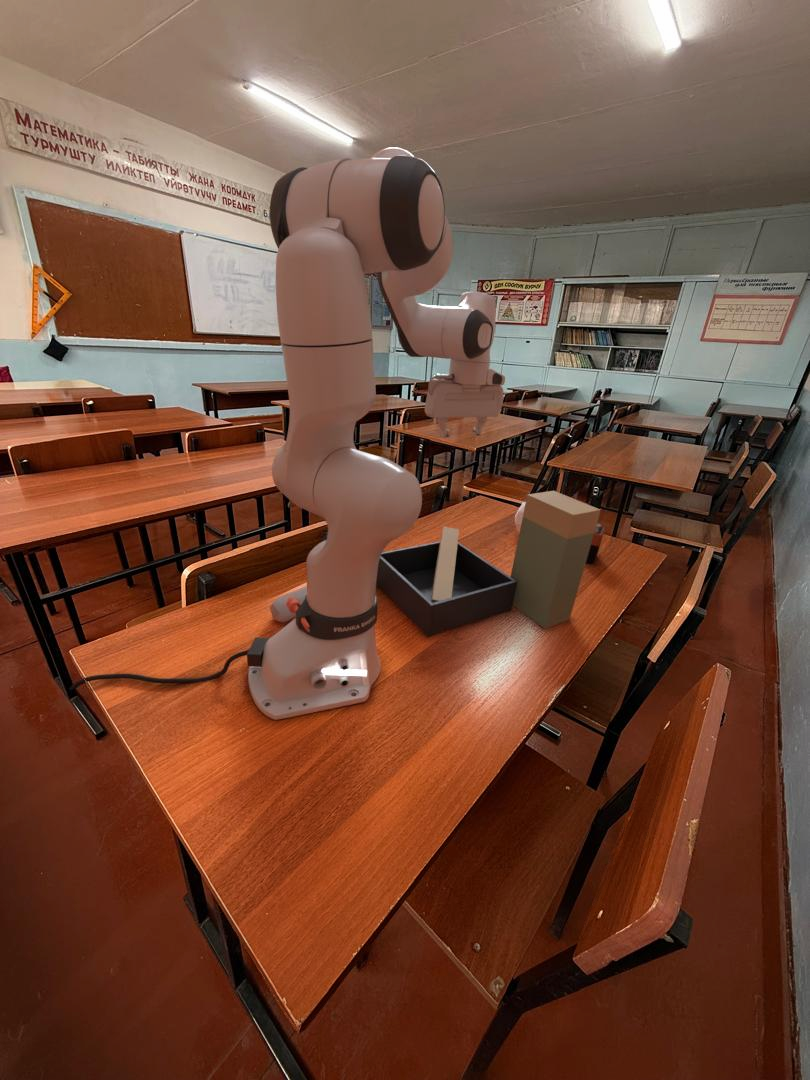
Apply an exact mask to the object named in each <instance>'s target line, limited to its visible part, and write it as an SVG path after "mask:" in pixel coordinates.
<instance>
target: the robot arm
mask: <svg viewBox="0 0 810 1080" xmlns="http://www.w3.org/2000/svg"><path fill="white" fill-rule="evenodd" d="M268 210H269V213H268V215H269V225H270V229H271V233H272V237H273V240H274V243H275V245H276V247H277V251H276V257H275V299H276V300H275V301H276V313H277V325H278V332H279V339H280V345H281V352H282V359H283V365H284V371H285V372H284V373H285V378H286V386H287V393H288V401H289V420H288V421H289V422H288V430H287V435H286V439H285V441H284V442H285V443H283V445H282V446H281V447H280V448H279V449H278V450H277V452H276V454H275V456H274V457H273V458H274V459H273V462H272V467H271V475H272V481H273V483H274V485H275V487H276V488H277V490H278V491H279V492H280V493H281V494H283V495H284V497H286V498H287V499H288V500H289V501H291V502H292V503H293V504H294V505H296V506H297V507H298V508H301V509H303V510H305V511H308V512H310V513H311V514H313V515H317V516H318V517H320V518H323V519H324V520H325V523H326V524H327V535H326V539H325V540H323V541H321V542H319V543H318V544H317V545H315V546H313V548H312V549H311V550H310V551H309V553H308V555H307V557H306V562H305V568H306V573H305V575H306V587H307V595H306V597H305V599H304V601H303V603H302V604H300V603H299V602H298V600H297V599H296V598H295V597H291V598H289V599H288V601H286V606H287V607H288V608H289V611H290V612H292V613H296V618H294V619H292V620H290V621H289V622H288V623H286V625H285V626H284V627H282V628H281V629H280V630H279V631H277V632H276V633H275V634H273V635H272V636H270V637H269V638H268V637H258V636H257V637H254V639H253V641H252V643H251V645H250V647H249V649H246V650H242V651H240V652H237V653H234V654H232V655H231V656H230V657H228V659H227V660H226V661H225V663H224V666H223V668H222V669H221V670H220V671H218V672H216V673H213V674H211V675H208V676H203V677H193V678H192V677H190V678H186V677H185V678H179V677H178V678H177V677H176V678H175V677H174V678H171V677H170V678H160V677H151V676H146V675H141V674H135V673H107V674H106V673H104V674H95V675H90V676H86V677H83V678H81V679H79V680H77V681H76V682H74V683H73V684H72V685H71V686H70V687H69V689H68V690H69V691H74V690H76V689H77V688H78V687H80V686H81V685H83V684H86V683H89V682H92V681H93V682H94V681H102V680H116V679H118V680H119V679H129V680H130V679H131V680H137V681H143V682H147V683H153V684H195V683H200V682H205V681H210V680H215V679H218V678H219V677H222V676H224V675H225V674H226V673H227V672H228V670H229V667H230V665H231V663H232V662H233V661H235V660H237V659H239V658H242V657H244V656H246V660H247V667H249V669H248V674H247V684H248V689H249V692H250V695H251V698H252V700H253V702H254V704H255V705H256V707H257V709H258V710H259V711H260V712H261V713H262V714H264V715H265V716H266V717H268V718H269V719H272V720H274V721H278V720H283V719H288V718H293V717H298V716H303V715H308V714H312V713H317V712H323V711H327V710H332V709H336V708H341V707H342V708H343V707H347V706H351V705H356V704H360V703H361V704H362V703H365V702H366V701H367V700H368V699H369V697H370V694H371V688H372V685H373V684H374V683H375V682H376V680H377V679H378V677H379V676H380V673H381V669H382V662H381V658H380V656H379V653H378V647H377V641H376V640H377V639H376V624H377V620H378V596H377V593H376V591H377V584H376V581H377V571H378V564H379V559H380V557H381V554H382V552H384V550H385V548H386V547H387V546H388V545H389V544H390V543H391V542H393V541H395V540H397V539H399V538H401V537H403V536H404V535H405V534H406V533H408V532H409V531H410V530H411V529H412V528H413V526H414V525H415V523H416V522H417V520H418V519H419V516H420V514H421V510H422V507H423V506H422V505H423V504H422V503H423V492H422V487H421V483H420V482H419V479H418V478H417V477H416V475H414V474H413V473H412V472H410V471H409V470H407V469H406V468H404V467H402V466H401V465H399V464H398V463H395V461H393V460H391V459H389V458H385V457H383V456H379V455H376V454H372V453H369V452H366V451H363V450H359V449H357V447H356V445H355V442H354V434H355V428H356V424H357V422H358V421H360V420H361V419H362V418H363V417H365V416H367V414H368V413H369V412H370V411H371V410H372V409H373V407H374V405H375V402H376V398H377V390H376V388H377V387H376V375H375V373H376V371H375V359H374V358H375V357H374V356H375V355H374V340H373V327H372V317H371V316H372V315H371V309H370V302H369V295H368V289H367V285H366V280H365V274H374V273H375V274H377V282H378V287H379V290H380V293H381V295H382V298H383V300H384V303H385V305H386V307H387V310H388V312H389V315H390V317H391V319H392V321H393V323H394V326H395V329H396V333H397V339H398V342H399V344H400V346H401V348H402V350H403V351H404V352H405V354H406V355H407V356H409V357H412V358H436V359H446V360H450V361H449V369H448V373H443V374H442V373H436V374H435V375H434V376H432V377H431V378H430V379H429V380H428V381H429V382H428V388H427V389H428V391H427V394H426V398H425V404H424V414H425V415H426V417H429V418H432V419H436V420H437V421H436V422H437V424H438V427H439V429H440V434H439V436H440V437H441V438H444V439H445V438H450V435H451V434H450V433H451V430H450V429H448V427H447V424H448V421H449V419H462V418H464V419H465V418H476V421H477V423H476V424H475V426H473V427H472V428H471V436H474V437H480V436H481V435H482V429H483V428H484V426H485V425H486V423H487V421H488V418H497V417H499V415H500V414H501V412H502V408H503V402H504V388H503V387H502V386H504V385H505V383H506V376H505V375H504V374H502V373H500V372H498V371H496V370H494V369H493V368H490V367H491V366H490V365H491V348H492V345H493V344H494V339H495V329H496V319H497V317H496V315H497V303H496V302H497V301H496V298H494V296H493V295H492V294H489V293H486V292H483V291H477V290H469V291H465V292H463V293H462V294H461V295H460V297H459V301H458V305H457V306H442V305H429V304H424V303H420V302H418V301H417V299H416V297H417V296H421V295H424V294H427V293H428V292H430V291H432V290H433V289H435V288H436V287H437V286H438V285H439V284H440V283H441V282H442V280H443V279H444V278H445V277H446V275H447V273H448V271H449V269H450V267H451V264H452V261H453V257H454V252H455V251H454V249H455V248H454V238H453V233H452V229H451V226H450V222H449V220H448V217H447V215H446V205H445V197H444V190H443V187H442V184H441V180H440V178H439V176H438V175H437V173H436V171H434V169H433V168H432V167H431V166H430V164H428V162H426V161H425V160H424V159H422V158H420V157H415V156H414V155H413V154H412V153H411V152H409V151H408V150H406V149H403V148H401V147H387V148H383V149H381V150H379V151H377V152H376V153H373V155H371V156H370V157H369V158H355V159H353V158H350V157H349V158H348V157H346V158H340V159H339V158H338V159H335V160H331V161H327V162H323V163H320V164H317V165H314V166H311V167H298V168H296V169H293V170H291V171H289V172H287V173H285V174H284V175H283V176H281V177H280V178H279V179H278V180H276V182H275V184H274V186H273V189H272V192H271V196H270V202H269V209H268ZM84 679H85V680H86V681H87V682H85V680H84Z"/></svg>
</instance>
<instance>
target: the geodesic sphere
mask: <svg viewBox="0 0 810 1080" xmlns="http://www.w3.org/2000/svg"><path fill="white" fill-rule="evenodd" d="M525 503H526V501H523V502H522V503H521V505H520V506H519V508H518V510H517V511H516V513H515V514H514V525H515V530H516V531H517V532H518V534H519V533H520V528H521V523H522V518H523V513H524V508H525Z"/></svg>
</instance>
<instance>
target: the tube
mask: <svg viewBox="0 0 810 1080" xmlns="http://www.w3.org/2000/svg"><path fill="white" fill-rule="evenodd" d="M306 595H307V586H304V587H302V588H300V589H297V590H295V591H293V592H290V593H287V594H284V595H282V596H279V597H277V598H275V600H274V601H273V602H272V603H271V605H269V610H270V614H271V616H272V619H273V620H274V621H276V622H278V623H282V624H285V623H287V622H290V621H292V620H294V619H295V618H296V613H292V612H290V611H289V608H288V607H287V606H286V601H288V599H289V598H291V597H295V598H296V599H297V600H298V602H299V603H300V604H302V603H303V601H304V599H305V597H306Z"/></svg>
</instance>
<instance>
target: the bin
mask: <svg viewBox="0 0 810 1080" xmlns="http://www.w3.org/2000/svg"><path fill="white" fill-rule="evenodd" d="M439 545H440V540H438V541H434V542H429V543H423V544H418V545H413V546H408V547H403V548H397V549H393V550H387V551H383V552H382V554H381V557H380V559H379V564H378V571H377V581H376V586H378V587H379V588H380V590H381V591H382V592H383V593H385V595H386V596H387V597H388V598H389V599H390V600H391V601H392V603H394V604H395V605H396V607H398V608H399V609H400V610H401V612H402V613H404V615H405V616H407V618H408V619H409V620H410V621H411V622H412V623H413V624H414V625H415V626H416V627H417V628H418V629H419V630H420V631H421V632H422V633H423V634H424V635H425V637H426V638H430V637H433V636H436V635H439V634H443V633H446V632H449V631H452V630H455V629H458V628H462V627H464V626H467V625H470V624H471V625H472V624H474V623H476V622H480V621H482V620H485V619H489V618H492V617H495V616H498V615H502V614H505V613H508V612H511V611H512V610H513V600H514V596H515V591H516V586H517V581H516V580H514V579H513V578H511V575H508V574H507V573H506V572H504V571H502V570H501V569H499V568H497V567H496V566H495V565H494V564H492V563H490V562H489V561H487V560H486V559H484V558H483V557H481V556H480V555H479V554H477V553H475V552H474V551H472V550H471V549H469V548H468V547H466V546H465V545H464V544H462V543H460V542H459V541H458V546H457V554H456V563H455V572H454V581H453V589H452V598H448V599H445V600H441V601H437V602H434V603H432V602H431V595H432V589H433V583H434V577H435V570H436V564H437V558H438V552H439Z"/></svg>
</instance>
